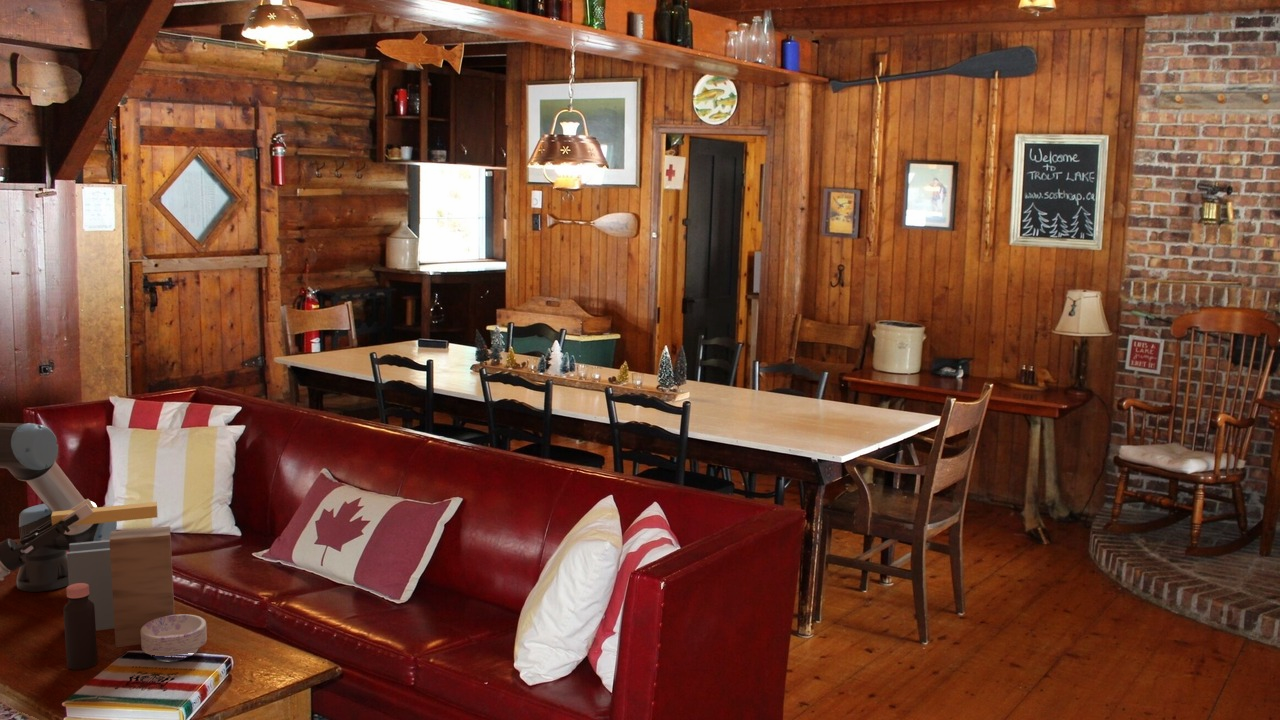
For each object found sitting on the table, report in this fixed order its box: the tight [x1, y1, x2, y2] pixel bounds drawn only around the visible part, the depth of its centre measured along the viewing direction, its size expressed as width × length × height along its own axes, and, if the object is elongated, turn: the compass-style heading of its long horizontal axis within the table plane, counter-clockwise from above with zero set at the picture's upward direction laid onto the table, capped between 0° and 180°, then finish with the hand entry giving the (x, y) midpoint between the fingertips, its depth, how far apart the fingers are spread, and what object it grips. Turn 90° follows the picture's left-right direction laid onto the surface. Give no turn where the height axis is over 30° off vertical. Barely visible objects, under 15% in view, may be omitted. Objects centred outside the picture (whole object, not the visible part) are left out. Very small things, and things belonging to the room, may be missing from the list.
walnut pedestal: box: [109, 525, 176, 648], centre depth 301 cm, size 8×14×28 cm, turn 111°
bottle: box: [63, 583, 99, 671], centre depth 285 cm, size 7×7×20 cm
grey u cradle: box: [66, 540, 115, 632], centre depth 311 cm, size 9×16×22 cm, turn 111°
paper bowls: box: [140, 613, 208, 656], centre depth 293 cm, size 15×15×8 cm
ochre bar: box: [51, 501, 159, 526], centre depth 295 cm, size 4×24×3 cm, turn 112°
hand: (90, 505), depth 294 cm, fingers closed on ochre bar, 4 cm apart
